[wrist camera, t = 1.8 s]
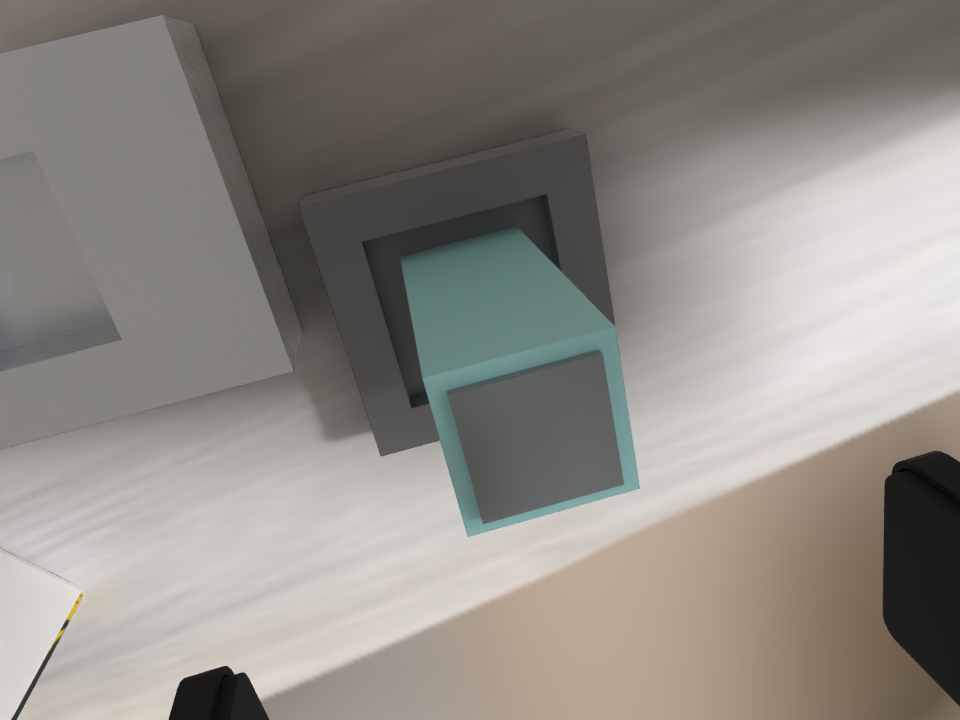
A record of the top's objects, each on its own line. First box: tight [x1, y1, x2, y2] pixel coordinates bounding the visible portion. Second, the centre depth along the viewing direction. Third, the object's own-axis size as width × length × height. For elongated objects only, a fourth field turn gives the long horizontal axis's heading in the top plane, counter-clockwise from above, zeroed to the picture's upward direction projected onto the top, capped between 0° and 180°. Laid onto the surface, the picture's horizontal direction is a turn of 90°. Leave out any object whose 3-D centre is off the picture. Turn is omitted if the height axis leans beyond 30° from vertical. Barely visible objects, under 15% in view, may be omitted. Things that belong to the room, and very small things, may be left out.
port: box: [0, 15, 303, 449], centre depth 20 cm, size 14×10×4 cm
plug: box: [400, 226, 640, 537], centre depth 19 cm, size 4×4×10 cm
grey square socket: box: [299, 129, 624, 456], centre depth 24 cm, size 9×9×2 cm
